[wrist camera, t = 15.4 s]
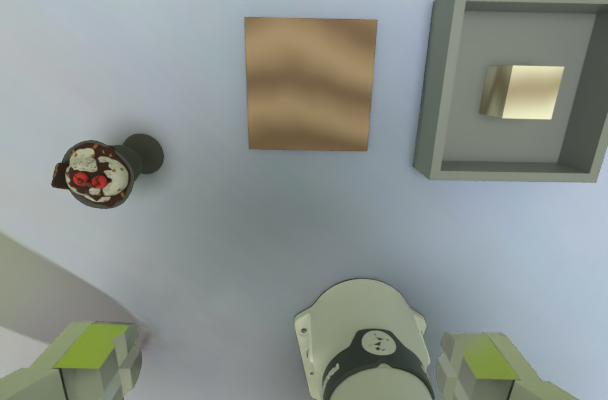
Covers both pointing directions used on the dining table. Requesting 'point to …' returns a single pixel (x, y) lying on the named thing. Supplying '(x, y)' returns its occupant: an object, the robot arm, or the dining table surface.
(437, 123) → the bin
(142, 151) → the sundae
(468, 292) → the dining table surface
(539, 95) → the cream block
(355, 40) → the walnut board
